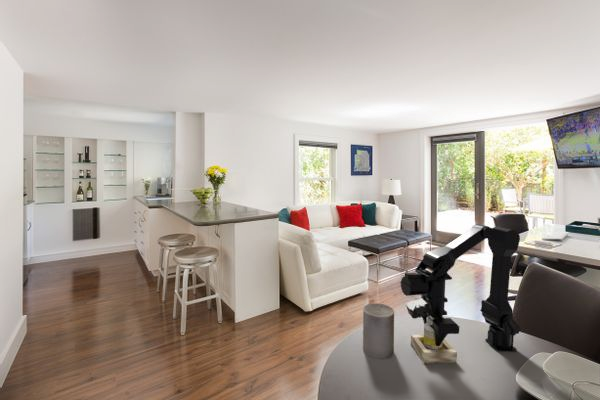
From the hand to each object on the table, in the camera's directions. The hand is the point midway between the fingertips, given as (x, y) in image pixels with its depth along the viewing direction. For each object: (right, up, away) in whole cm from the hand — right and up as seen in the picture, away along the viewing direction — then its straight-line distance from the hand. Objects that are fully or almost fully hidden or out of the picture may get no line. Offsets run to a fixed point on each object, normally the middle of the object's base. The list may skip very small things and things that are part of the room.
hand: (433, 340), depth 93 cm
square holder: (0, -4, 0) cm, 4 cm away
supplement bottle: (0, -3, 0) cm, 3 cm away
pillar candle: (-17, -4, +2) cm, 18 cm away
